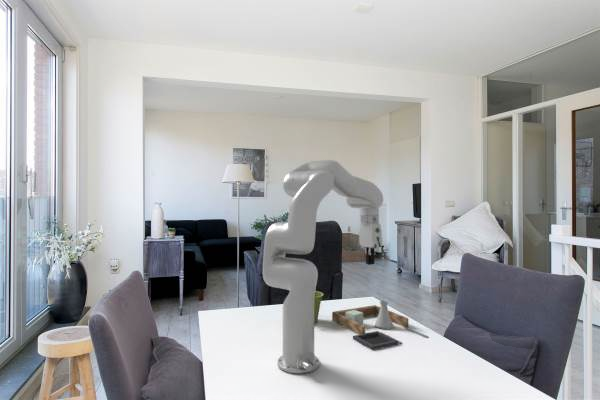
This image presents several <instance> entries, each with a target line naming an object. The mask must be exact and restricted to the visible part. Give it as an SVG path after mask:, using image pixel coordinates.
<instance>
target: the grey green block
mask: <svg viewBox="0 0 600 400" xmlns="http://www.w3.org/2000/svg"><path fill="white" fill-rule="evenodd" d="M345 317H347V318H349V319H351V320H353V321H355V322H357V323H359V324H361V325H363V326H364V317H363V313H362V312H359V311H356V310H352V311H348V312H345Z"/></svg>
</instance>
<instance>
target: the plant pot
mask: <svg viewBox="0 0 600 400" xmlns="http://www.w3.org/2000/svg"><path fill="white" fill-rule="evenodd" d="M323 296H324V293H323V292H321V291H317V290H315V300H314V324H316V323H317V322H318V321H319V319H318V318H319V312H320V308H321V302H322V299H323Z"/></svg>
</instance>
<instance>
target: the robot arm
mask: <svg viewBox="0 0 600 400" xmlns="http://www.w3.org/2000/svg"><path fill="white" fill-rule="evenodd" d="M282 186H283V191H284V193H285V194H286V195H287V196H289V197H291V198H292V200H291V202H290V205H289V209H288V218H287V221H286V222H284V221H283V222H282V221H279V222H278V221H277V222H274V223H271V225H270V226H269V227H268V229H267V230H266V233H265V236H264V244H263V258H262V278H263V281H264V283H265V284H266V285H267V286H268V287H271V288H276V289H280V290H281V289H282V290H286V291H289V292H288V295H287V296H286V297H285V299H284V300H283V304H282V355H281V356H279V358H278V359H277V367H278V368H279V370H281V371H283V372H286V373H290V374H307V373H311V372H313V371H315V370H317V369H318V368H319V366H320V358H318V357H317V356H316V355H315V323H314V300H315V291H317V290H316V287H317V283H318V277H319V276H318V275H319V272H318V268H317V267H316V265H315V263H313V262H312V261H310V260H308V259H307V260H306V259H304V258H295V257H286V254H293V255H308V254H310V253H311V252H312V251H314V250H313V249H314V247H315V243H316V242H315V241H316V228H317V212H318V209H319V205H320V204H321V202H322V201H323V200H324V198H325V197H326V196H328V194H329V193H331V191H334V192H335V193H336V194H338V195H339V196H341V197H345V198H346V199H345V200H346V204H347V206H349V207H350V208H353V209H360V210H359V211H360V223H359V232H358V233H359V234H358V236H359V238H358V241H359V245H360V248H361V249H363V251H364V255H365V265H375V255H376V253H377V252H380V248H382V247H383V234H382V231H383V230H382V226H381V223H380V208H381V206H382V205H383V203H384V194H383V192H382V191H381V189H380V188H379V187H378V186H377V185H376V184H375V183H373V182H371V181H369V180H366V179H364V178H361V177H358V176H355V175H352V174H351V173H350V172H349V171H348V170H347V169H346V168H345V167H343V165H342V164H341V163H340V162H338V161H336V160H334V159H325V160H324V159H323V160H313V161H312V160H311V161H308V162H305V163H304V164H302V165H300V166H298V167H296V168H294V169H292V170H291V171H289V172H288V173H287V174H286V175H285V177H284V178H283V184H282Z"/></svg>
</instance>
